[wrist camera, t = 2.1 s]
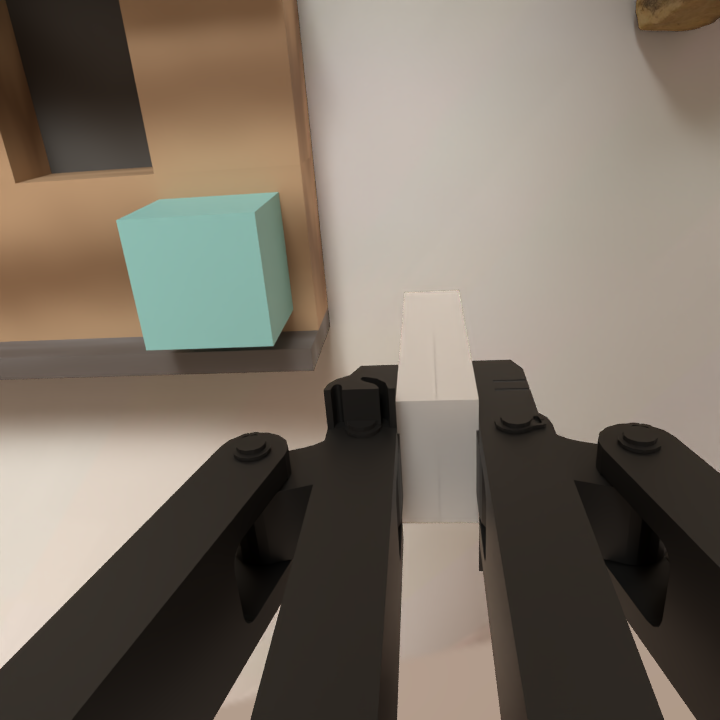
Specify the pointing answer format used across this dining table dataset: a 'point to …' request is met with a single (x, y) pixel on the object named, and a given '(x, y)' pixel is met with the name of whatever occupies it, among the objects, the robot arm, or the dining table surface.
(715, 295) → the dining table surface
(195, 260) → the block
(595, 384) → the dining table surface
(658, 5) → the rock
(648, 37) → the dining table surface
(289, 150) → the trap board
